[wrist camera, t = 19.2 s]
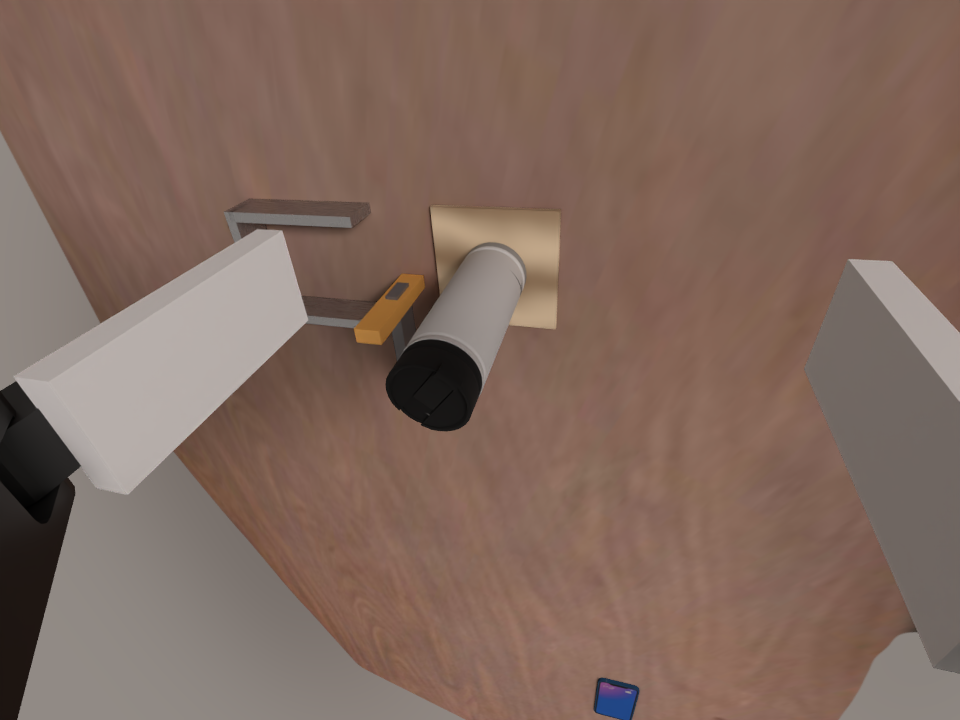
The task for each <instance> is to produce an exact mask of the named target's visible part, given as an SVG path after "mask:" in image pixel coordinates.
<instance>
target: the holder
mask: <svg viewBox="0 0 960 720" xmlns="http://www.w3.org/2000/svg"><path fill="white" fill-rule="evenodd" d="M370 213H371V212H370V207H369V203H360V202H330V201H300V200H270V199H248V200H246V201H244V202H242V203H240V204H238V205H236V206H234V207H232V208H230V209H228V210H226V211H225V212H224V214H225V217H226V220H227V222H228V225H229V228H230V231H231V234H232V237H233V239H234V242H237V241H239V240H240V239H242V238H244V237H245V236H247V235H249V234H250V233H252V232H254V231H255V230H257V229H262V230H267V228H266V224H281V225H302V226H323V227H345V228H352V227H354V226H355V225H356V224H357V223H359V222H360V221H361V220H362V219H364V218H365V217H366V216H368V215H369V214H370ZM301 297H302V300H303V303H304V307H305V310H306V314H307V317H308V321H307V322H306V323H307V324H317V325H327V326H337V327H347V328H355V327H356V326H357V324H358V323H359V322H360V321H361V320H362V319H363V318H364V316H365V315H366V314H367V313H368V312H369V311H370V310H371V308H372V307H373V306H374V305H375V304H376V303H377V302H367V301H356V300H344V299H332V298H321V297H309V296H301Z"/></svg>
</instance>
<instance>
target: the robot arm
mask: <svg viewBox="0 0 960 720" xmlns="http://www.w3.org/2000/svg"><path fill="white" fill-rule="evenodd" d="M307 321H308V317H307V314H306V310H305V307H304V303H303V300H302V297H301V293H300V290H299V286H298V283H297V280H296V276H295V273H294V269H293V266H292V262H291V259H290V256H289V252H288V249H287V245H286V242H285V239H284V235H283V232H282V230H262V229H257V230H255V231H254V232H252V233H250V234H249V235H247V236H245V237H244V238H242V239H240V240H239V241H237V242H235V243H234V244H232V245H230V246H229V247H227V248H225V249H224V250H222V251H220V252H219V253H217V254H215V255H214V256H212V257H210V258H209V259H207V260H205V261H204V262H202V263H201V264H199V265H197V266H196V267H194V268H192V269H191V270H189V271H187V272H186V273H184V274H182V275H181V276H179V277H177V278H176V279H174V280H172V281H171V282H169V283H167V284H166V285H164V286H162V287H161V288H159V289H157V290H156V291H154V292H152V293H151V294H149V295H147V296H146V297H144V298H142V299H141V300H139V301H137V302H136V303H134V304H132V305H131V306H129V307H127V308H126V309H124V310H122V311H121V312H119V313H117V314H116V315H114V316H112V317H111V318H109V319H107V320H106V321H104V322H103V323H101V324H99V325H98V326H96V327H94V328H93V329H91V330H89V331H88V332H86V333H84V334H83V335H81V336H79V337H78V338H76V339H74V340H73V341H71V342H69V343H68V344H66V345H65V346H63V347H61V348H59V349H58V350H56V351H54V352H53V353H51V354H49V355H48V356H46V357H45V358H43V359H41V360H39V361H38V362H36V363H34V364H33V365H31V366H29V367H28V368H26V369H24V370H23V371H21V372H19V373H18V374H16V375H14V376H13V377H14V378H15V379H16V382H14V383H13V384H11V385H9V386H8V387H6V388H5V389H3V390H1V391H0V720H17V718H18V714H19V710H20V706H21V702H22V698H23V695H24V691H25V687H26V683H27V679H28V675H29V671H30V668H31V664H32V660H33V656H34V652H35V648H36V644H37V640H38V637H39V633H40V629H41V625H42V621H43V617H44V613H45V609H46V606H47V602H48V598H49V594H50V590H51V586H52V582H53V578H54V574H55V571H56V567H57V563H58V558H59V555H60V551H61V547H62V543H63V540H64V535H65V532H66V528H67V524H68V520H69V516H70V512H71V508H72V505H73V500H74V496H75V486H74V485H73V484H72V482H71V481H70V480H69V478H68V476H70V475H71V474H72V473H73V472H74V471H76V470H77V469H78V468H79V467H81V468H82V470H83V471H84V472H85V474H86V475H87V476H88V478H89V479H90V480H91V482H92V483H93V484H94V485H95V487H96V488H98V489H102V490H107V491H112V492H117V493H121V494H126V495H128V494H129V493H130V492H131V491H132V490H133V489H134V488H135V487H136V486H137V485H138V484H139V483H140V482H141V481H142V480H143V479H144V478H145V477H146V476H148V474H150V473H151V472H152V471H153V470H154V469H155V468H156V467H157V466H158V465H159V464H160V463H161V462H162V461H163V460H164V459H165V458H166V457H167V456H168V455H169V454H170V453H171V452H172V451H173V450H174V449H175V448H177V447H178V446H179V445H180V444H181V443H182V442H183V441H184V440H185V439H186V438H187V437H188V436H189V435H190V434H191V433H192V432H193V431H194V430H195V429H196V428H197V427H198V426H199V425H200V424H201V423H202V422H203V421H204V420H206V419H207V418H208V417H209V416H210V415H211V414H212V413H213V412H214V411H215V410H216V409H217V408H218V407H219V406H220V405H221V404H222V403H223V402H224V401H225V400H226V399H227V398H228V397H229V396H230V395H231V394H232V393H233V392H235V391H236V390H237V389H238V388H239V387H240V386H241V385H242V384H243V383H244V382H245V381H246V380H247V379H248V378H249V377H250V376H251V375H252V374H253V373H254V372H255V371H256V370H257V369H258V368H259V367H260V366H261V365H263V364H264V363H265V362H266V361H267V360H268V359H269V358H270V357H271V356H272V355H273V354H274V353H275V352H276V351H277V350H278V349H279V348H280V347H281V346H282V345H283V344H284V343H285V342H286V341H287V340H288V339H289V338H290V337H292V336H293V335H294V334H295V333H296V332H297V331H298V330H299V329H300V328H301V327H302V326H303V325H304V324H305V323H306V322H307ZM804 370H805V372H806V375H807V377H808V379H809V382H810V384H811V386H812V388H813V391H814V393H815V395H816V398H817V400H818V402H819V405H820V407H821V409H822V412H823V414H824V416H825V419H826V421H827V423H828V426H829V428H830V430H831V432H832V435H833V437H834V439H835V442H836V444H837V446H838V449H839V451H840V453H841V456H842V458H843V460H844V463H845V465H846V467H847V469H848V472H849V474H850V476H851V479H852V481H853V483H854V486H855V488H856V490H857V493H858V495H859V497H860V500H861V502H862V504H863V507H864V509H865V511H866V513H867V516H868V518H869V520H870V523H871V525H872V527H873V530H874V532H875V534H876V537H877V539H878V541H879V544H880V546H881V548H882V550H883V553H884V555H885V557H886V560H887V562H888V564H889V567H890V569H891V571H892V574H893V576H894V578H895V581H896V583H897V585H898V588H899V590H900V592H901V594H902V597H903V599H904V601H905V604H906V606H907V608H908V611H909V613H910V615H911V618H912V620H913V622H914V625H915V627H916V629H917V631H918V634H919V636H920V638H921V641H922V643H923V645H924V648H925V650H926V652H927V655H928V657H929V659H930V662H931V664H932V666H933V668H937V669H941V670H946V671H950V672H955V673H959V674H960V333H959V332H958V331H957V330H956V329H955V327H954V326H953V325H952V324H951V323H950V322H949V321H948V320H947V319H946V318H945V317H944V316H943V315H942V314H941V313H940V312H939V310H938V309H937V308H936V307H935V306H934V305H933V304H932V303H931V302H930V301H929V300H928V299H927V298H926V297H925V296H924V295H923V293H922V292H921V291H920V290H919V289H918V288H917V287H916V286H915V285H914V284H913V283H912V282H911V281H910V280H909V279H908V278H907V276H906V275H905V274H904V273H903V272H902V271H901V270H900V269H899V268H898V267H897V266H896V265H895V264H894V263H893V262H892V261H875V260H856V259H848V261H847V263H846V266H845V268H844V271H843V273H842V276H841V278H840V281H839V283H838V286H837V288H836V291H835V293H834V296H833V298H832V301H831V303H830V306H829V308H828V311H827V313H826V316H825V318H824V321H823V323H822V326H821V328H820V331H819V333H818V336H817V338H816V341H815V343H814V346H813V348H812V351H811V353H810V356H809V358H808V361H807V363H806V366H805V368H804Z"/></svg>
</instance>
